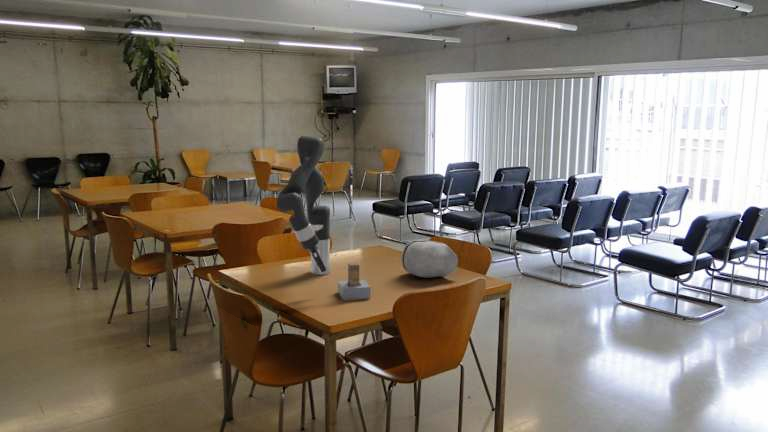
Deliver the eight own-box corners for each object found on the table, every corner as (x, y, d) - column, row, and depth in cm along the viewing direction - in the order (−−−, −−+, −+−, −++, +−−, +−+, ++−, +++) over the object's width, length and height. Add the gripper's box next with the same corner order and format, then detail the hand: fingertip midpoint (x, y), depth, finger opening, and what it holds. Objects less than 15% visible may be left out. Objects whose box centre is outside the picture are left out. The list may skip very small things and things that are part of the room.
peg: (348, 294, 264) (348, 262, 262) (357, 293, 265) (357, 262, 263) (350, 296, 260) (350, 265, 258) (359, 296, 261) (359, 264, 259)
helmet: (438, 236, 313) (393, 235, 295) (473, 245, 294) (427, 245, 275) (434, 270, 315) (389, 272, 297) (469, 281, 295) (423, 284, 277)
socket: (337, 292, 267) (337, 281, 266) (364, 290, 270) (364, 279, 269) (342, 300, 255) (342, 288, 255) (370, 298, 258) (370, 287, 257)
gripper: (317, 237, 247) (333, 269, 253) (312, 226, 260) (327, 257, 266) (300, 245, 246) (317, 277, 253) (296, 234, 259) (312, 264, 266)
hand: (322, 267), depth 260 cm, fingers open, 8 cm apart
